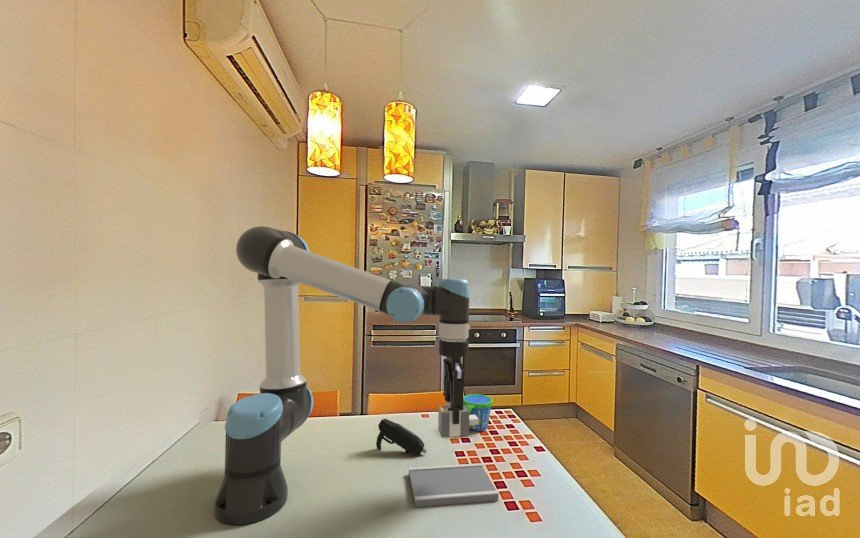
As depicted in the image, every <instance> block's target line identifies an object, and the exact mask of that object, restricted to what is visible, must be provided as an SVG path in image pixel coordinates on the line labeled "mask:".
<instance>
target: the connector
mask: <svg viewBox="0 0 860 538" xmlns="http://www.w3.org/2000/svg"><path fill="white" fill-rule="evenodd" d="M450 407H451V406H445V405H444V406H443V405H441V404H438V412H437V413H438V414H437V415H438V417H437V418H438V421H437V423H438V426H437V427H438V432H439V434H440V437H441V439H442V438H450V437H449V411H448V408H450ZM469 425H479V419H478V418H477V416H476V415H469V410H468V409H467V408H466V406H465V405H463V410H461V424H460V436H457V437H458V438H459V437H469V436H470V429H469Z"/></svg>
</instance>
